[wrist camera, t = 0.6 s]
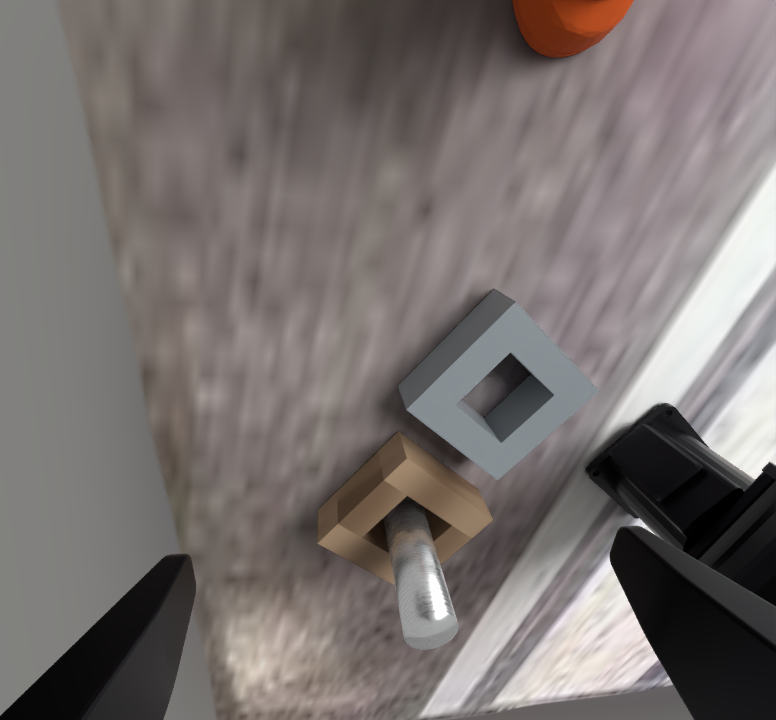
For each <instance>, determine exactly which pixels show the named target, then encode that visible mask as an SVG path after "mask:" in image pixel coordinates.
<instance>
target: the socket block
mask: <svg viewBox="0 0 776 720" xmlns="http://www.w3.org/2000/svg"><path fill="white" fill-rule="evenodd" d="M406 496H409V497H410V498H412V499H413V500H415V501H416V502H418V503H419V504H421V505H422V506H424V507H425V509H424V512H425V515H426V519H427V522H428V525H429V529H430V532H431V535H432V539H433V542H434V545H435V549H436V552H437V555H438V559H439V562H440V565H441V564H442V563H444V562H445V561H446V560H447V559H448V558H449V557H451V556H452V555H453V554H454V553H455V552H456V551H458V550H459V549H460V548H461V547H462V546H464V545H465V544H466V543H467V542H468V541H469V540H471V539H472V538H473V537H474V536H475V535H476V534H478V533H479V532H480V531H481V530H482V529H483V528H485V527H486V526H487V525H488V524H489V523H490V522H492V521H493V518H492V516H491V514H490V512H489V510H488V508H487V506H486V504H485V502H484V500H483V498H482V496H481V494H480V492H479V490H478V489H477V488H475V487H474V486H473V485H471V484H470V483H468V482H467V481H466V480H464V479H463V478H462V477H460V476H459V475H458V474H456V473H455V472H454V471H452V470H451V469H450V468H448V467H447V466H445V465H444V464H443V463H441V462H440V461H439V460H437V459H436V458H435V457H433V456H432V455H431V454H429V453H428V452H427V451H425V450H424V449H422V448H421V447H420V446H418V445H417V444H416V443H414V442H413V441H412V440H410V439H409V438H408V437H406V436H405V435H404V434H402V433H401V432H399V431H398V432H397V433H396V434H395V435H394V436H393V437H392V438H391V439H390V440H389V441H388V442H387V443H386V444H385V445H384V446H383V447H382V448H381V449H380V450H379V451H378V452H377V453H376V454H375V455H374V456H373V457H372V458H370V459H369V460H368V461H367V462H366V463H365V464H364V465H363V466H362V467H361V468H360V469H359V470H358V471H357V472H356V473H355V474H354V475H353V476H352V477H351V478H350V479H349V480H348V481H347V482H346V483H345V484H344V485H343V486H342V487H341V488H340V489H339V490H338V491H337V492H336V493H335V494H334V495H333V496H332V497H331V498H330V499H329V500H328V501H326V502H325V503H324V504H323V505H322V506H321V507H320V508H319V509H318V538H317V544H319V545H321V546H323V547H325V548H326V549H328V550H330V551H332V552H334V553H336V554H338V555H340V556H341V557H343V558H345V559H347V560H349V561H351V562H353V563H354V564H356V565H358V566H360V567H362V568H364V569H366V570H367V571H369V572H371V573H373V574H375V575H377V576H379V577H380V578H382V579H384V580H386V581H388V582H390V583H392V584H393V585H395V583H394V577H393V571H392V565H391V560H390V554H389V548H388V542H387V536H386V531H385V525H384V520H383V518H384V517H385V516H386V515H387V514H388V513H389V512H390V511H391V510H392V509H393V508H394V507H396V506H397V505H398V504H399V503H400V502H401V501H402V500H403V499H404V498H405V497H406Z"/></svg>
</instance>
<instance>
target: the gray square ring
mask: <svg viewBox="0 0 776 720" xmlns="http://www.w3.org/2000/svg"><path fill="white" fill-rule="evenodd" d="M509 353H510V354H511V355H512V356H513V357H514V358H515V359H516V360H517V361H518V362H519V363H521V364H522V365H523V366H524V367H525V368H526V369H527V370H528V371H529V372H530V373H531V375H530V376H528V377H527V378H526V379H525V380H524V381H523V382H522V383H521V384H520V385H519V386H518V387H517V388H516V389H514V390H513V391H512V392H511V393H510V394H509V395H508V396H507V397H506V398H505V399H504V400H503V401H502V402H500V403H499V404H498V405H497V406H496V407H495V408H494V409H493V410H492V411H491V412H490V413H489V414H488V415H487V416H485V417H484V418H483V417H482V416H481V415H480V414H479V413H478V412H476V411H475V410H474V409H473V408H472V407H471V406H469V405H468V404H467V403H466V402H465V401H463V400H462V398H463V397H464V396H465V395H466V394H467V393H468V392H469V391H471V390H472V389H473V388H474V387H475V386H476V385H477V384H478V383H479V382H480V381H481V380H482V379H483V378H484V377H485V376H486V375H487V374H488V373H489V372H490V371H491V370H492V369H494V368H495V367H496V366H497V365H498V364H499V363H500V362H501V361H502V360H503V359H504V358H505V357H506V356H507V355H508V354H509ZM398 388H399V391H400V394H401V396H402V399H403V402H404V405H405V408H406V410H407V411H408V412H410V413H411V414H412V415H414V416H415V417H416V418H417V419H419V420H420V421H421V422H423V423H424V424H425V425H427V426H428V427H429V428H430V429H432V430H433V431H434V432H436V433H437V434H438V435H439V436H441V437H442V438H443V439H445V440H446V441H447V442H448V443H450V444H451V445H452V446H454V447H455V448H456V449H458V450H459V451H460V452H461V453H463V454H464V455H465V456H467V457H468V458H469V459H470V460H472V461H473V462H474V463H476V464H477V465H478V466H480V467H481V468H482V469H483V470H485V471H486V472H487V473H489V474H490V475H491V476H492V477H494V478H495V479H496V480H499V479H500V478H501V477H502V476H503V475H504V474H505V473H506V472H508V471H509V470H510V469H511V468H512V467H513V466H514V465H516V464H517V463H518V462H519V461H520V460H521V459H522V458H524V457H525V456H526V455H527V454H528V453H529V452H530V451H532V450H533V449H534V448H535V447H536V446H537V445H538V444H540V443H541V442H542V441H543V440H544V439H545V438H546V437H548V436H549V435H550V434H551V433H552V432H553V431H554V430H555V429H557V428H558V427H559V426H560V425H561V424H562V423H563V422H565V421H566V420H567V419H568V418H569V417H570V416H571V415H573V414H574V413H575V412H576V411H577V410H578V409H579V408H581V407H582V406H583V405H584V404H585V403H586V402H587V401H589V400H590V399H591V398H592V397H593V396H594V395H595V394H597V393H598V392H599V390H598V389H597V388H596V387H595V386H594V385H593V384H592V383H591V381H590V380H589V379H588V378H587V377H586V376H585V375H584V374H583V373H582V372H581V371H580V370H579V369H578V368H577V367H576V365H575V364H574V363H573V362H572V361H571V360H570V359H569V358H568V357H567V356H566V355H565V354H564V353H563V352H562V351H561V349H560V348H559V347H558V346H557V345H556V344H555V343H554V342H553V341H552V340H551V339H550V338H549V337H548V336H547V335H546V333H545V332H544V331H543V330H542V329H541V328H540V327H539V326H538V325H537V324H536V323H535V322H534V321H533V320H532V319H531V317H530V316H529V315H528V314H527V313H526V312H525V311H524V310H523V309H522V308H521V307H520V306H519V305H518V304H517V303H516V302H515V301H514V300H512V299H510V298H509V297H507V296H505V295H504V294H502V293H501V292H499V291H497V290H496V289H493V290H492V291H491V292H490V293H489V294H488V295H487V296H486V297H485V298H484V299H483V300H482V301H481V302H480V303H479V304H478V305H477V306H476V307H475V308H474V310H473V311H472V312H471V313H470V314H469V315H468V316H467V317H466V318H465V319H464V320H463V321H462V322H461V323H460V324H459V325H458V326H457V327H456V328H455V329H454V330H453V331H452V332H451V333H450V334H449V335H448V336H447V337H446V338H445V339H444V340H443V341H442V342H441V343H440V344H439V345H438V346H437V347H436V348H435V349H434V350H433V351H432V352H431V353H430V354H429V355H428V356H427V357H426V358H425V359H424V360H423V361H422V362H421V363H420V364H419V365H418V366H417V367H416V368H415V369H414V370H413V371H412V372H411V373H410V374H409V375H408V376H407V377H406V378H405V379H404V380H403V381H402V382H401V383H400V384H399V385H398Z"/></svg>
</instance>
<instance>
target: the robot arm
mask: <svg viewBox="0 0 776 720" xmlns="http://www.w3.org/2000/svg"><path fill="white" fill-rule="evenodd" d="M762 471H763V472H762V474H761V475H760V476H759V477H758V478H757V479H756V480H755V479H753V478H752V477H750V476H749V475H747V474H746V473H745V472H743V471H742V470H740V469H739V468H737V467H736V466H734V465H733V464H731V463H730V462H728V461H727V460H725V459H724V458H723V457H721V456H720V455H718V454H717V453H715V452H714V451H712V450H711V449H709V447H708V446H707V445H706V444H705V443H704V441H703V440H702V439H701V438H700V437H699V435H698V434H697V433H696V432H695V431H694V429H693V428H692V427H691V426H690V425H689V423H688V422H687V421H686V420H685V419H684V417H683V416H682V415H681V414H680V413H679V411H678V410H677V409H676V408H675V407H673V406H672V405H670V404H669V403H664V404H662V405H660V406H659V407H658V408H656V409H655V410H654V411H653V412H652V413H650V414H649V415H648V416H647V417H646V418H644V419H643V420H642V421H641V422H640V423H638V424H637V425H636V426H635V427H634V428H632V429H631V430H630V431H629V432H628V433H626V434H625V435H624V436H623V437H622V438H620V439H619V440H618V441H617V442H616V443H614V444H613V445H612V446H611V447H610V448H608V449H607V450H606V451H605V452H604V453H603V454H601V455H600V456H599V457H598V458H597V459H595V460H594V461H593V462H592V463H591V464H589V465H588V466H587V467H586V470H585V473H586V474H587V475H588V476H589V478H590V479H592V480H593V481H594V482H595V483H596V484H597V485H598V486H599V487H600V488H602V489H603V490H604V491H605V492H606V493H607V494H608V495H609V496H610V497H612V498H613V499H614V500H615V501H616V502H617V503H618V504H619V505H620V506H622V507H623V508H624V509H625V510H626V511H627V512H628V513H629V514H630V515H632V516H633V517H634V518H640V519H641V520H642V521H643V522H644V523H645V524H646V525H647V526H648V527H649V528H650V529H651V531H652V532H653V533H654V534H655V535H654V534H653V533H651V532H649V531H648V530H646V529H644V528H642V527H640V526H623V527H620V528H619V529H618V531H617V534H616V536H615V539H614V542H613V545H612V548H611V551H610V562H611V565H612V567H613V569H614V572H615V574H616V576H617V578H618V580H619V582H620V584H621V586H622V588H623V590H624V592H625V594H626V597H627V599H628V601H629V603H630V605H631V607H632V609H633V611H634V613H635V615H636V617H637V619H638V622H639V624H640V626H641V628H642V630H643V632H644V634H645V636H646V638H647V639H648V641H649V643H650V645H651V647H652V648H653V650H654V652H655V654H656V655H657V657H658V659H659V661H660V662H661V664H662V666H663V667H664V669H665V671H666V673H667V674H668V676H669V678H670V679H671V681H672V683H673V685H674V686H675V688H676V690H677V691H678V693H679V695H680V697H681V698H682V700H683V702H684V703H685V705H686V707H687V708H688V710H689V712H690V714H691V715H692V717H693V719H694V720H776V465H775V464H773V463H771V462H769V463H768V464H767V465H766V466H765V467H764V468H763V469H762ZM195 594H196V581H195V576H194V571H193V566H192V561H191V557H190V556H189V555H188V554H172V555H167V556H165V557H164V558H162V559H161V560H160V561H159V563H157V564H156V565H155V566H154V567H153V568H152V569H151V570H150V571H149V572H148V573H147V574H146V575H145V576H144V577H143V578H142V579H141V580H140V581H139V582H138V583H137V584H136V585H135V586H134V587H132V589H130V590H129V591H128V592H127V593H126V594H125V595H124V596H123V597H122V598H121V599H120V600H119V601H118V602H117V603H116V604H115V605H114V606H113V607H112V608H111V609H110V610H109V611H108V612H107V613H106V614H105V615H104V616H103V617H102V618H101V619H100V620H99V621H97V622H96V623H95V624H94V625H93V626H92V627H91V628H90V629H89V630H88V631H87V632H86V633H85V634H84V635H83V636H82V637H81V638H80V639H79V640H78V641H77V642H76V643H75V644H74V645H73V646H72V647H71V648H70V649H69V650H68V651H67V652H66V653H65V654H63V656H61V657H60V658H59V659H58V660H57V661H56V662H55V663H54V665H52V666H51V667H50V668H49V669H48V670H47V671H46V672H45V673H44V674H43V675H42V676H41V677H40V678H39V679H38V680H37V681H36V682H35V683H34V684H33V685H32V686H31V687H29V689H28V690H26V691H25V692H24V694H22V695H21V696H20V697H19V698H18V699H17V700H16V701H15V702H14V703H13V704H12V705H11V706H10V707H9V708H8V709H7V710H6V711H5V712H4V713H3V714H2V715H1V716H0V720H163V719H164V716H165V713H166V710H167V707H168V704H169V700H170V697H171V694H172V691H173V688H174V683H175V680H176V676H177V672H178V668H179V663H180V659H181V655H182V650H183V646H184V642H185V638H186V633H187V629H188V624H189V620H190V616H191V612H192V607H193V603H194V599H195Z"/></svg>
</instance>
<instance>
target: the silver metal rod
mask: <svg viewBox="0 0 776 720" xmlns="http://www.w3.org/2000/svg"><path fill="white" fill-rule="evenodd" d="M383 519H384V525H385V531H386V536H387V542H388V548H389V554H390V560H391V565H392V571H393V577H394V583H395V589H396V594H397V600H398V606H399V612H400V618H401V623H402V629H403V635H404V640H405V642H406V643H407V644H408V645H409V646H411V647H413V648H415V649H421V650H428V649H434V648H437V647H440V646H442V645H444V644H446V643H448V642H449V641H450V640H451V639H453V637H454V636H455V635H456V633H457V631H458V621H457V618H456V615H455V612H454V608H453V605H452V602H451V598H450V595H449V592H448V588H447V585H446V582H445V578H444V575H443V572H442V568H441V565H440V562H439V559H438V555H437V552H436V549H435V545H434V542H433V539H432V535H431V532H430V529H429V525H428V522H427V519H426V515H425V512H424V509H423V506H422V505H421V504H419V503H418V502H416V501H415V500H413V499H412V498H410V497H409V496H406V497H405V498H404V499H403V500H402V501H401V502H400V503H399V504H398V505H397V506H396V507H394V508H393V509H392V510H391V511H390V512H389V513H388V514H387V515H386V516H385V517H384V518H383Z"/></svg>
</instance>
